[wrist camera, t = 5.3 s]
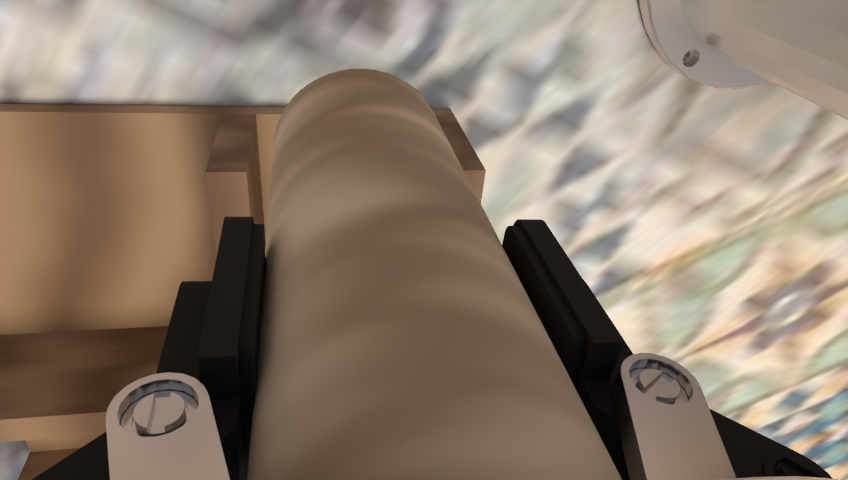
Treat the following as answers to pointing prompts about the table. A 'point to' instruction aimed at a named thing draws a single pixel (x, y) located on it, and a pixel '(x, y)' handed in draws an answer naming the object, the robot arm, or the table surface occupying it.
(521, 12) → the table surface
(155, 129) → the channel board
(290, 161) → the beech peg
